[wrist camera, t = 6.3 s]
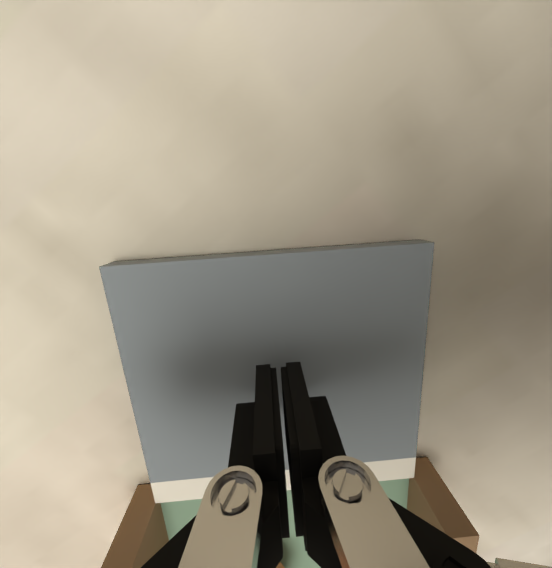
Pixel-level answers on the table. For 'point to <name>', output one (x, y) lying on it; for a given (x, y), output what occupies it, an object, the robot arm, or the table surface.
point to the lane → (277, 352)
